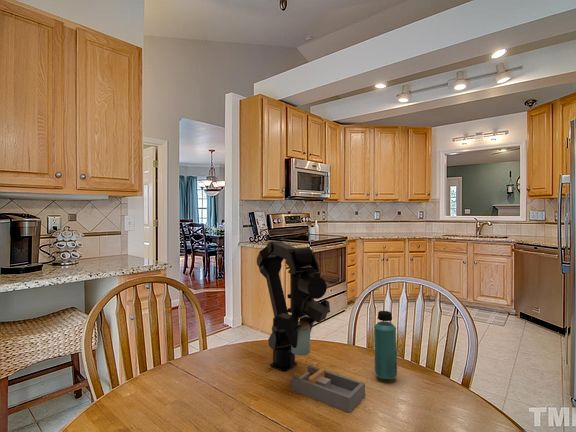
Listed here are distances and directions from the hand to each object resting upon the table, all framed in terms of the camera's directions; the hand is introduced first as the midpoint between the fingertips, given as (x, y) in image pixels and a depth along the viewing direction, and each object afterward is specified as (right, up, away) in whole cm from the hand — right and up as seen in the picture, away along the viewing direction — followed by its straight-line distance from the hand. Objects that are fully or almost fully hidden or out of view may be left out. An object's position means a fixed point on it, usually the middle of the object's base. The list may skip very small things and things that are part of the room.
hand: (300, 344), depth 95 cm
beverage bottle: (+25, -11, +2) cm, 28 cm away
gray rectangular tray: (+7, -11, -6) cm, 14 cm away
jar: (0, -2, 0) cm, 2 cm away
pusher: (+6, -10, -4) cm, 12 cm away
